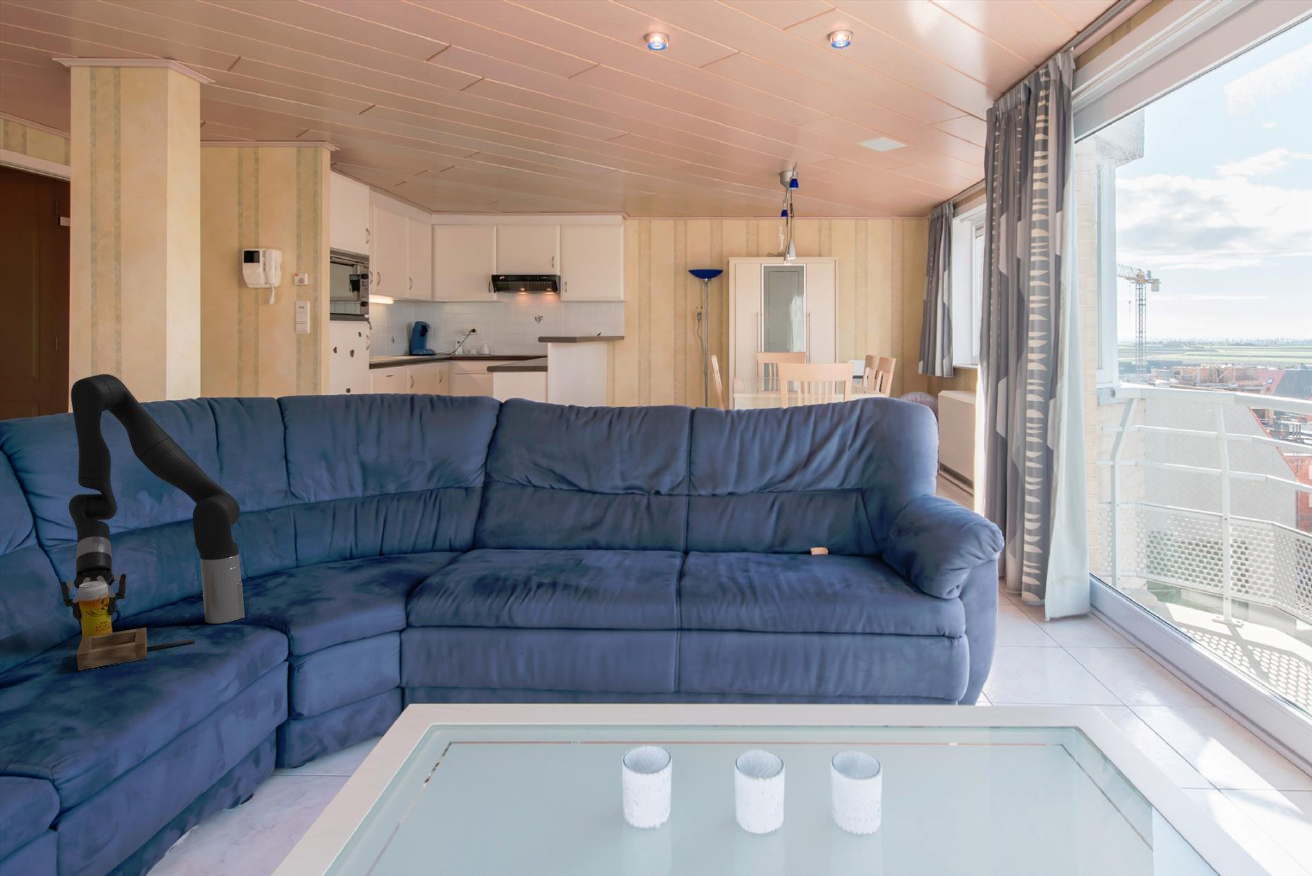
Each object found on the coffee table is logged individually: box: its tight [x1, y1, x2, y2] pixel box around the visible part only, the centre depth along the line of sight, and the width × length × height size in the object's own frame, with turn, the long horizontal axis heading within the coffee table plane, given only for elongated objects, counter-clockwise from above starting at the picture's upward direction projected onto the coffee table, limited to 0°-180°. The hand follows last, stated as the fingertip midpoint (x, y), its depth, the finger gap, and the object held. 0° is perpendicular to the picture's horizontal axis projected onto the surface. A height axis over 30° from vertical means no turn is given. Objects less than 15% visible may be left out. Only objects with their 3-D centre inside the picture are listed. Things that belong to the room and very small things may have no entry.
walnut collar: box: [76, 627, 196, 671], centre depth 195 cm, size 23×13×4 cm, turn 121°
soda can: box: [77, 581, 113, 638], centre depth 201 cm, size 6×6×15 cm
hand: (95, 615), depth 200 cm, fingers closed on soda can, 6 cm apart
